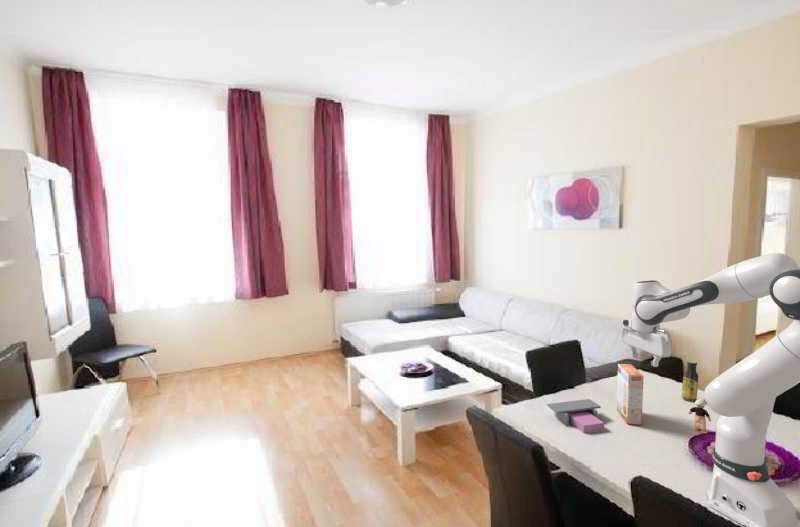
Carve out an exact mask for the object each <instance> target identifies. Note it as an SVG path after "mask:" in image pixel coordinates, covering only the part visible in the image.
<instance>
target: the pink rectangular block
mask: <svg viewBox="0 0 800 527" xmlns="http://www.w3.org/2000/svg"><path fill="white" fill-rule="evenodd" d="M566 413H567V414H569V424H571V425H572V424H573V425H572V426H574V427H575V428H576V429H577V430H579V431H580V432H581V433H583V434H587V433H594V432H600V431H601V432H602V431H605V422H603V421H602V420H601V419H599V418H598V417H597V418H596V417H595V416H593V415H592V414H590V413H589V412H587V411H586V410H581V411H573V412H566Z"/></svg>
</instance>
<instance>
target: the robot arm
mask: <svg viewBox="0 0 800 527" xmlns="http://www.w3.org/2000/svg"><path fill="white" fill-rule="evenodd" d="M768 296H770V297H771V299H772V301H773V302H774V304H776V305H777V307H779V309H780V310H781V311H782V313H783V314H784V316H785V317H786V318H788V319H790V320H793V321H792V322H791V324H789V325H788V326H787V327H786V328H784V329H783V330H781V331H780V332H779V333H778V334H776V335H775V336H774V337H772V338H771V339H769V341H767V342H766V343H764V344H763V345H762V346H761V347H759V348H758V349H756V350H754V352H752V353H751V354H749V355H748V356H746V357H745V358H743V359H741V360H740V361H739V362H737V363H735V364H734V365H732V366H731V367H730V368H727V369H726V370H725V371H724V372H722V373H720V374H718V376H717V377H715V378H713V380H712V381H710V382H709V384H707V385H706V387H705V389H704V392H703V394H704V395H703V396H704V401H705V404H707V405H708V407H709V409H710V410H712V411H713V412H714V413H716V414H717V415H720V416H719V418H718V420H717V422H716V425H715V442H714V443H715V444H714V446H715V447H713V450H712V451H713V453H712V463H713V469H712V473H711V478H710V482H709V485H708V486H707V489H706V495H707V496H706V497H707V498H708V499H707V506H709V507H711V508H712V509H714V510H715V511H717V512H719V513H721V514H722V515H723V516H726V517H728V518H730V519H731V520H733V521H734V522H736V521H738V522H737V523H738V524H739V523H740V524H739V525H741V526H743V525H746V526H748V527H800V520H799V519H798V516H797V511H796V507H795V505H794V503H793V502H792V501H791V500H790V499H789V497H788V496H787V494H786V493H785V492H784V491H782V490H781V488H780V487H779V486H778V485H777V484H776V483H775V482H774V480H773V479H772V478H771V477H772V476H773V475H775V469H771V470H769V468H768V465H767V462H766V460H765V454H766V452H765V451H766V442H767V440H766V439H767V432H768V428H769V425H770V422H771V420H772V419H771V418H772V414H773V410H774V406H775V402H776V398H777V397H778V396H780V395H782V394H783V393H785V392H787V391H788V390H790V389H792V388H794V387H795V386H797V385H798V384H799V383H800V266H799V264H798V263H797V261H796V260H795V259H794V258H792V257H791V256H789V255H787V254H784V253H777V252H775V253H768V254H764V255H760V256H756V257H752V258H748V259H745V260H743V261H740V262H737V263H734V264H733V265H730V266H728V267H724V269H721V270H720V271H718V272H715V273H713V274H711V275H710V276H708V277H705V278H703V279H701V280H699V281H697V282H694V283H692V284H690V285H688V286H685V287H682V288H678V289H676V290H671V289H670V288H669V289H668V288H667V287H666V286H664V285H663V284H662V283H660V281H658V280H652V279H651V280H642V281H638V282H635V284H634V285H633V288H632V297H631V306H632V313H631V318H624V319H621V328H620V330H621V331H620V339H621V342H622V343H623V344H626V345H628V346H629V347H628V348H629V350H630V353H631V358H633V359H639V352H638V351H637V349H639V350H642V351H644V352H646V353H649V354H652V355H653V360H650V366H652V367H654V368H658V367H659V362H660V361H661V359H662V358H669V357H671V355H672V344H671V343H672V342H671V338H670V337H671V336H670V334H669V333H668V332H667V331H666V330H665V329H661V324H664V323H667V322H668V323H669V322H674V321H680V320H683V319H685V318H687V317H688V315H689V314H690V311H691V308H694V307H698V306H706V305H707V306H708V305H717V304H718V305H719V304H720V305H721V304H734V303H743V302H749V301H754V300H757V299H761V298H765V297H768ZM771 475H772V476H771Z"/></svg>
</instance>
